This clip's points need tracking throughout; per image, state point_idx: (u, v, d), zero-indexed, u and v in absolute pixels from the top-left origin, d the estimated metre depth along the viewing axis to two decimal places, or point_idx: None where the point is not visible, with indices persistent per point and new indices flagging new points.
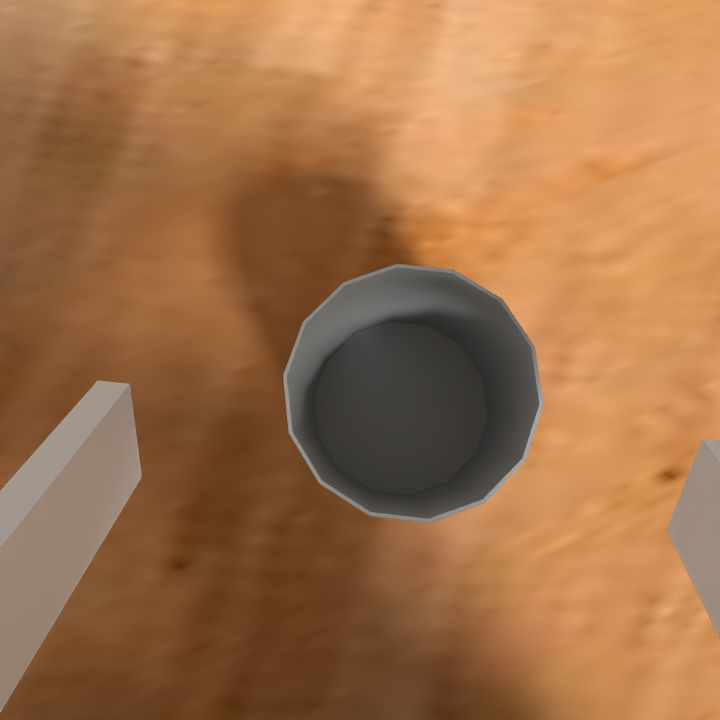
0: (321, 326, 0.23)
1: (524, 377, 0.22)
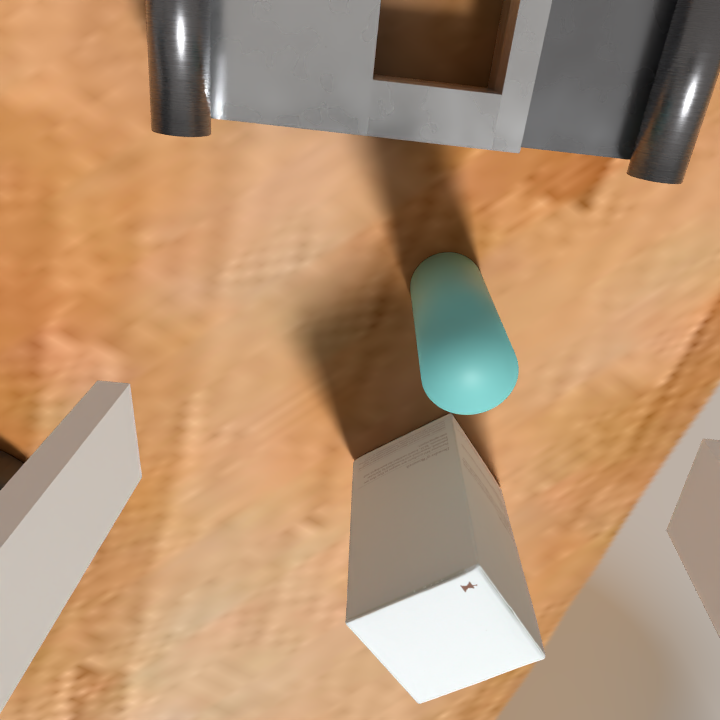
0: None
1: None
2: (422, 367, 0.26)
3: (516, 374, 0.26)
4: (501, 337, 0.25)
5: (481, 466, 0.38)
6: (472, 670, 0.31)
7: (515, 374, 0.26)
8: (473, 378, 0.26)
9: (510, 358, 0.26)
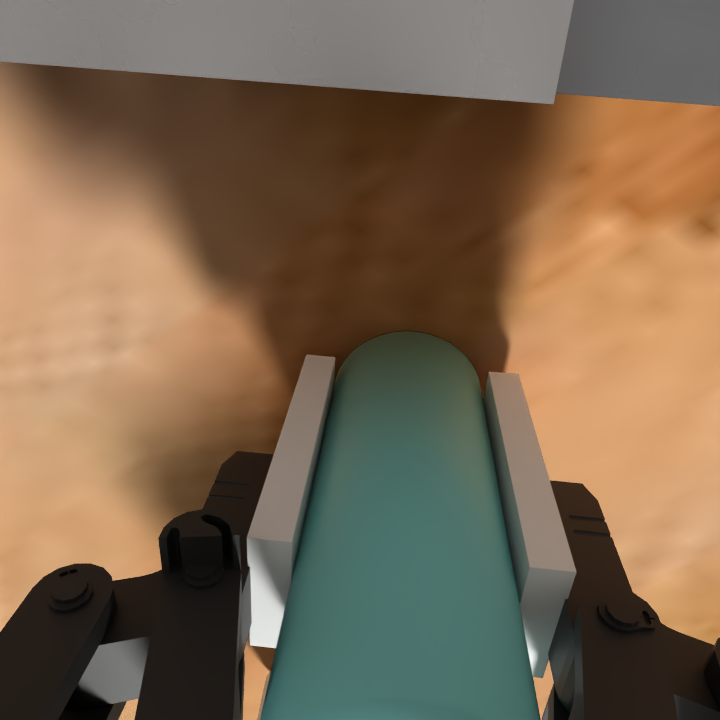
0: None
1: None
2: None
3: None
4: (493, 712, 0.08)
5: None
6: None
7: None
8: None
9: None
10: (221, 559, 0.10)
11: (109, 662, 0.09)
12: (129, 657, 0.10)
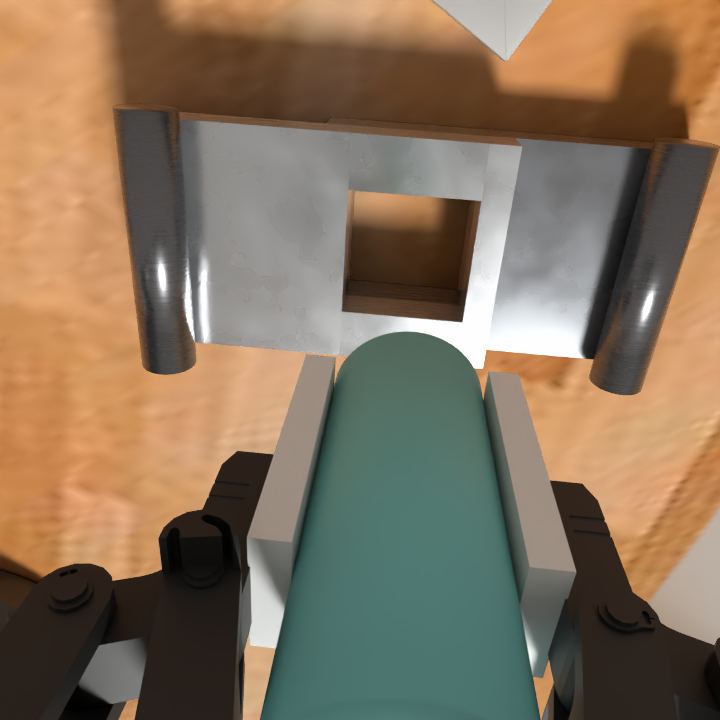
0: None
1: None
2: None
3: None
4: (493, 713, 0.08)
5: None
6: None
7: None
8: None
9: None
10: (221, 559, 0.10)
11: (108, 663, 0.09)
12: (130, 657, 0.10)
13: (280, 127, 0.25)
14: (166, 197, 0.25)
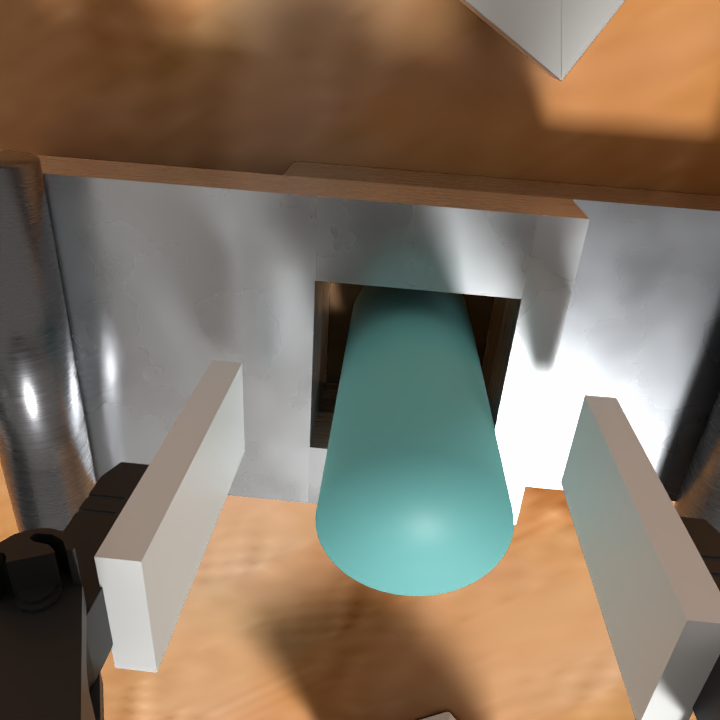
0: None
1: None
2: (317, 514, 0.13)
3: (510, 528, 0.13)
4: (475, 458, 0.12)
5: None
6: None
7: (508, 528, 0.13)
8: (422, 534, 0.13)
9: (496, 498, 0.12)
10: (58, 577, 0.09)
11: None
12: None
13: (206, 187, 0.16)
14: (23, 300, 0.15)
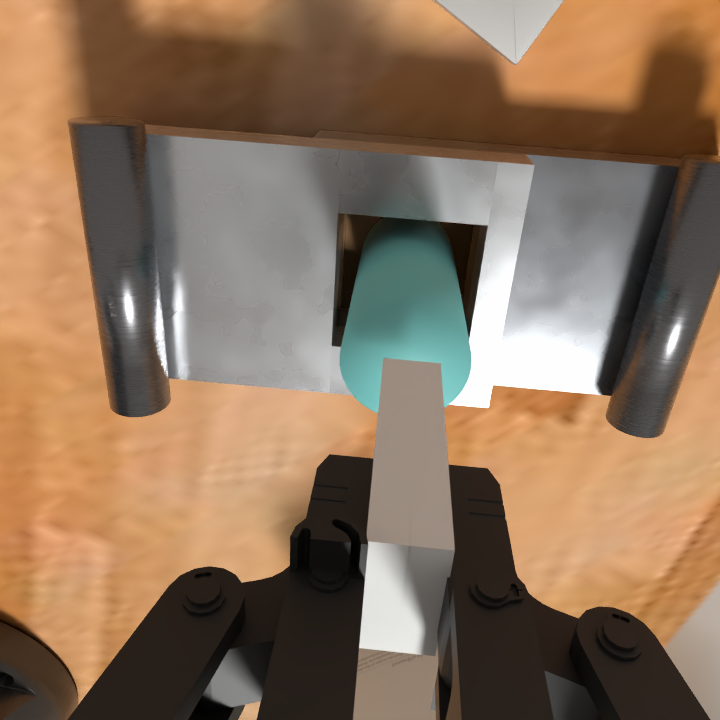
0: None
1: None
2: (340, 355, 0.19)
3: (469, 363, 0.19)
4: (445, 312, 0.18)
5: None
6: None
7: (468, 363, 0.19)
8: None
9: (459, 341, 0.19)
10: (347, 565, 0.10)
11: (241, 665, 0.10)
12: (259, 660, 0.10)
13: (261, 143, 0.22)
14: (131, 222, 0.22)
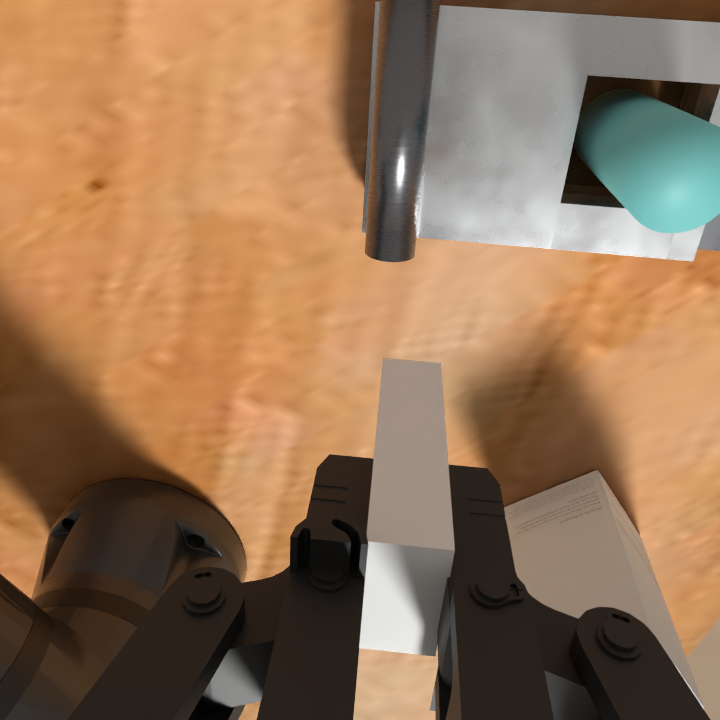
0: None
1: None
2: (627, 174, 0.23)
3: None
4: None
5: (627, 520, 0.41)
6: None
7: None
8: (686, 186, 0.23)
9: None
10: (347, 565, 0.10)
11: (241, 665, 0.10)
12: (260, 660, 0.10)
13: (530, 11, 0.26)
14: (423, 78, 0.26)
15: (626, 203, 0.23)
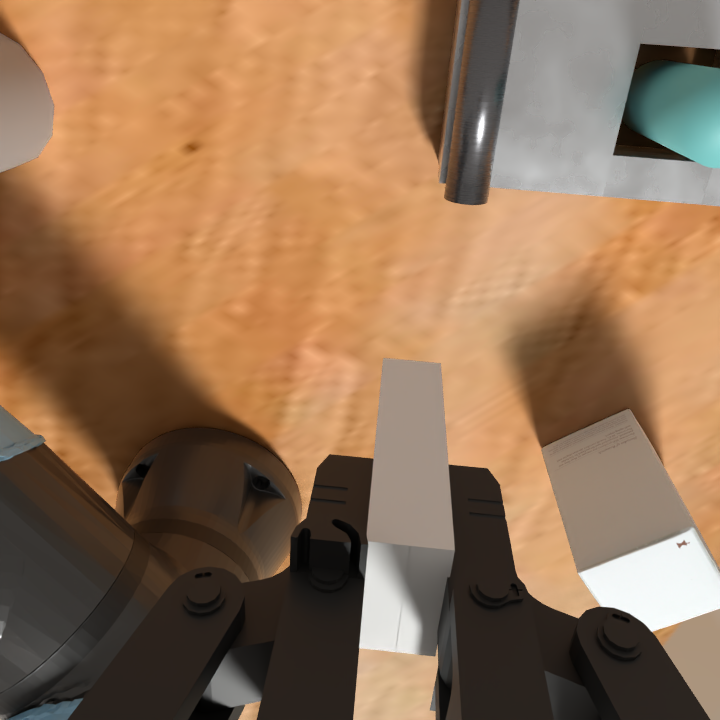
0: None
1: None
2: (684, 117, 0.28)
3: None
4: None
5: None
6: (674, 612, 0.39)
7: None
8: None
9: None
10: (347, 565, 0.10)
11: (241, 664, 0.10)
12: (260, 660, 0.10)
13: None
14: (507, 42, 0.30)
15: (683, 143, 0.28)
